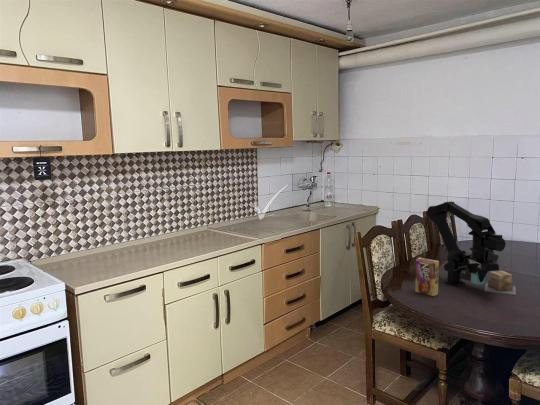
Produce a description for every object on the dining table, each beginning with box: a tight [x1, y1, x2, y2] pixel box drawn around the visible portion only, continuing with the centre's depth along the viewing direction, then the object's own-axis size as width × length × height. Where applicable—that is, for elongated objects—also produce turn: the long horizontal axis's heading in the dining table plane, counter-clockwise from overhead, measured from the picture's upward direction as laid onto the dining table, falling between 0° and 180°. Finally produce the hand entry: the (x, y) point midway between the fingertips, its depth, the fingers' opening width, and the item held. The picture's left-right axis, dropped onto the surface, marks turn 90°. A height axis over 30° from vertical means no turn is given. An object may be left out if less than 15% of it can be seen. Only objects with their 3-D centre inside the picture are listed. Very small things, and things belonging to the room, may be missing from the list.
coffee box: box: [462, 265, 481, 281], centre depth 203 cm, size 9×6×16 cm
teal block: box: [470, 272, 486, 285], centre depth 181 cm, size 4×4×4 cm
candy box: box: [414, 257, 440, 297], centre depth 181 cm, size 9×4×15 cm, turn 45°
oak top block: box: [489, 270, 513, 283], centre depth 183 cm, size 6×6×4 cm
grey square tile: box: [483, 281, 517, 296], centre depth 184 cm, size 12×12×1 cm
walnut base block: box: [487, 278, 514, 291], centre depth 183 cm, size 7×7×4 cm
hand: (477, 280), depth 181 cm, fingers closed on teal block, 4 cm apart
